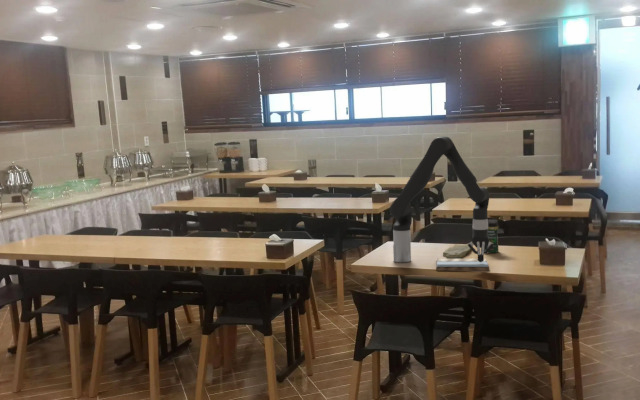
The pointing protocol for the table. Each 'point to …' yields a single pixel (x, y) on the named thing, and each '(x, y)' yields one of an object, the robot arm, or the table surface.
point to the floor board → (462, 267)
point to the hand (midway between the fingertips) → (480, 261)
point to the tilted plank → (461, 264)
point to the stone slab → (457, 251)
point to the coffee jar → (492, 235)
